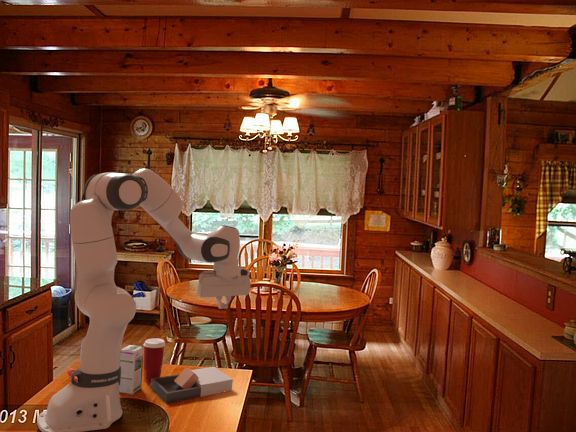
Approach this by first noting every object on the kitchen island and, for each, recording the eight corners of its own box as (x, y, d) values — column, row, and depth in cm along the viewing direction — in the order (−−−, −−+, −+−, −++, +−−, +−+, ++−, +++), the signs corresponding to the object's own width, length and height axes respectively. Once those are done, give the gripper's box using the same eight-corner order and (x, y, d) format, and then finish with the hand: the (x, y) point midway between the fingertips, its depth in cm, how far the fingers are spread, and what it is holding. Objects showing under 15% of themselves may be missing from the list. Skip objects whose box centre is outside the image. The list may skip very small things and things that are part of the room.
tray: (166, 403, 149) (166, 393, 149) (150, 387, 161) (151, 378, 160) (200, 396, 156) (201, 387, 156) (183, 382, 168) (184, 373, 168)
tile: (186, 392, 157) (181, 386, 156) (178, 386, 162) (173, 380, 161) (199, 378, 160) (194, 372, 159) (191, 372, 165) (186, 367, 163)
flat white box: (200, 396, 156) (201, 384, 156) (183, 382, 168) (184, 371, 168) (231, 390, 164) (232, 379, 163) (213, 377, 175) (214, 366, 175)
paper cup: (167, 379, 169) (170, 341, 169) (151, 385, 163) (153, 345, 162) (152, 373, 173) (155, 336, 173) (135, 379, 167) (138, 340, 167)
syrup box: (132, 394, 154) (135, 351, 154) (116, 392, 155) (119, 348, 155) (141, 388, 159) (144, 346, 159) (125, 385, 161) (128, 344, 160)
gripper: (203, 272, 161) (200, 312, 161) (253, 271, 173) (251, 308, 173) (195, 269, 166) (192, 308, 166) (244, 268, 178) (242, 304, 178)
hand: (222, 308), depth 170 cm, fingers closed
